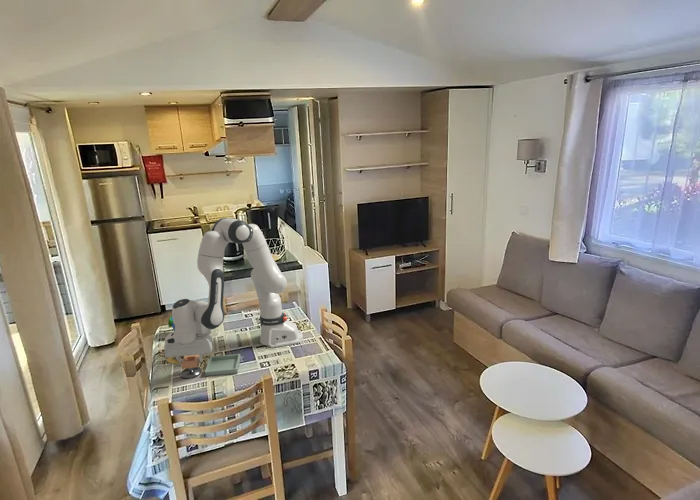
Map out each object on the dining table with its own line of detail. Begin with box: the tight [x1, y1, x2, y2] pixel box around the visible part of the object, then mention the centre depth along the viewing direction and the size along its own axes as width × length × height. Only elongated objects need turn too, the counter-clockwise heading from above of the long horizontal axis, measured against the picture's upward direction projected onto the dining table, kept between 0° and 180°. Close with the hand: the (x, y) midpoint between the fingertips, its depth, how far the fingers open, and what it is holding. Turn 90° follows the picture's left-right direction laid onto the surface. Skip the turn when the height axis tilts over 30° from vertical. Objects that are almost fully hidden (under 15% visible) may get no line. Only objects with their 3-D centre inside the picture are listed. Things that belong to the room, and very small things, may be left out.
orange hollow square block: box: [181, 354, 200, 370], centre depth 193 cm, size 6×6×3 cm
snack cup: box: [167, 316, 175, 332], centre depth 233 cm, size 16×10×10 cm
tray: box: [204, 353, 242, 378], centre depth 199 cm, size 14×14×2 cm
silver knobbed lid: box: [179, 366, 202, 380], centre depth 194 cm, size 9×9×5 cm
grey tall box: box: [196, 323, 213, 344], centre depth 218 cm, size 8×7×16 cm
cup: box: [166, 355, 189, 364], centre depth 209 cm, size 12×12×5 cm
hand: (191, 362), depth 194 cm, fingers closed on orange hollow square block, 6 cm apart
